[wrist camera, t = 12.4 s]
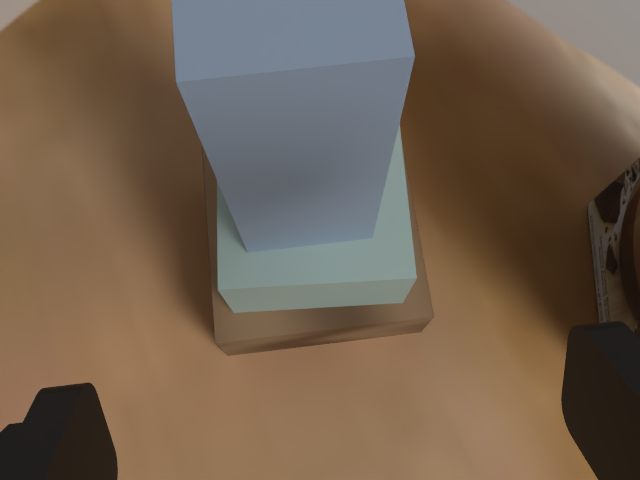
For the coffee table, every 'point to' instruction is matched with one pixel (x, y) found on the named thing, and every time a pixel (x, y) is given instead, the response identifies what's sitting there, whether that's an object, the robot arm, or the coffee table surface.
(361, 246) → the sage slab
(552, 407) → the coffee table surface
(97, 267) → the coffee table surface
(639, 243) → the coffee box
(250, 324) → the walnut slab
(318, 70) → the slate pillar
